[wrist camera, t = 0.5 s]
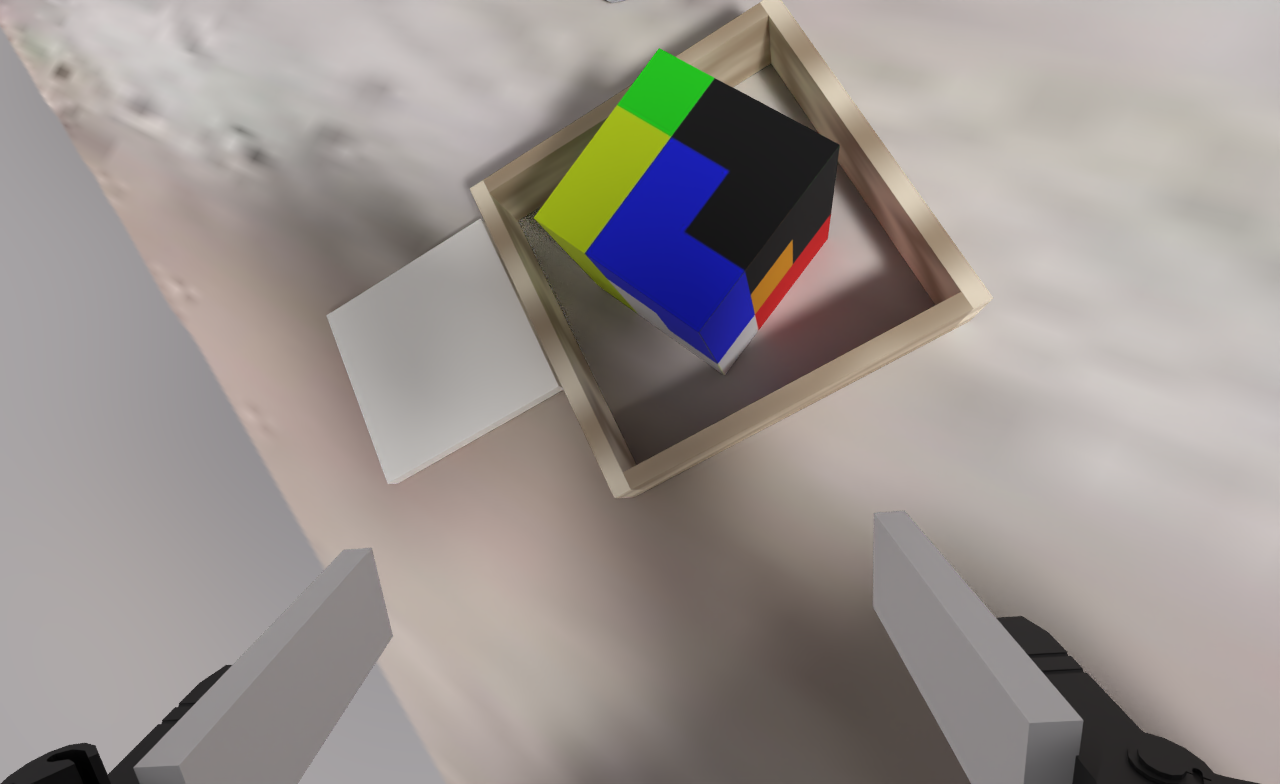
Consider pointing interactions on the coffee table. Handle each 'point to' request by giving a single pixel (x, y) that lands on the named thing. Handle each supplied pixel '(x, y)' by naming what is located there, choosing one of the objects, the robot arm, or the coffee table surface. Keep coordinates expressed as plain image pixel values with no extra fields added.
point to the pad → (441, 353)
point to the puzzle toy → (696, 207)
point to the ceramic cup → (613, 0)
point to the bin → (864, 160)
